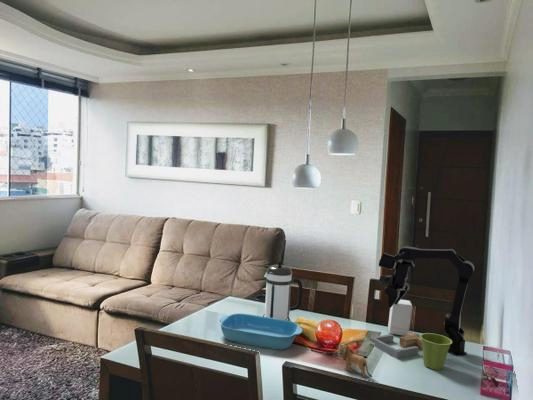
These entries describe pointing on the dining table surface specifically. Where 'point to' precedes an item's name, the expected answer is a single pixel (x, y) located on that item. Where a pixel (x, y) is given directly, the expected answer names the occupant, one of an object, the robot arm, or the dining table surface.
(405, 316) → the supplement box
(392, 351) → the dock
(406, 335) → the t block
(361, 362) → the lion figurine
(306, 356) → the dining table surface
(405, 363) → the dining table surface
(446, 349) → the plant pot
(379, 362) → the dining table surface
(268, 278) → the coffee press
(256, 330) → the casserole dish
